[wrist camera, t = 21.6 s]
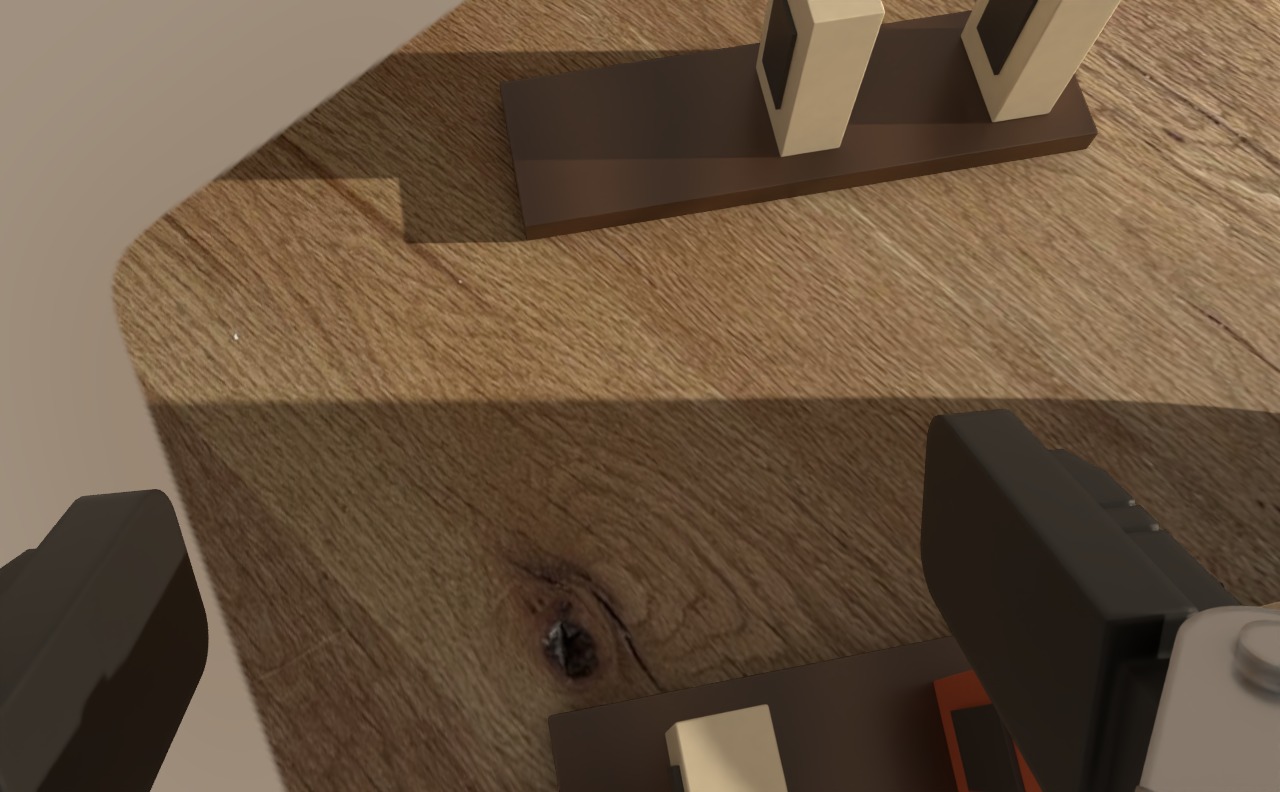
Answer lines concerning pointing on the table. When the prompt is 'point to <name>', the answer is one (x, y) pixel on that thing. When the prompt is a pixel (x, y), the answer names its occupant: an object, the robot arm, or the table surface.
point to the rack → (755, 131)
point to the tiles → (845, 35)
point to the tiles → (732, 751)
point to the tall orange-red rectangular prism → (979, 739)
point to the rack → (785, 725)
